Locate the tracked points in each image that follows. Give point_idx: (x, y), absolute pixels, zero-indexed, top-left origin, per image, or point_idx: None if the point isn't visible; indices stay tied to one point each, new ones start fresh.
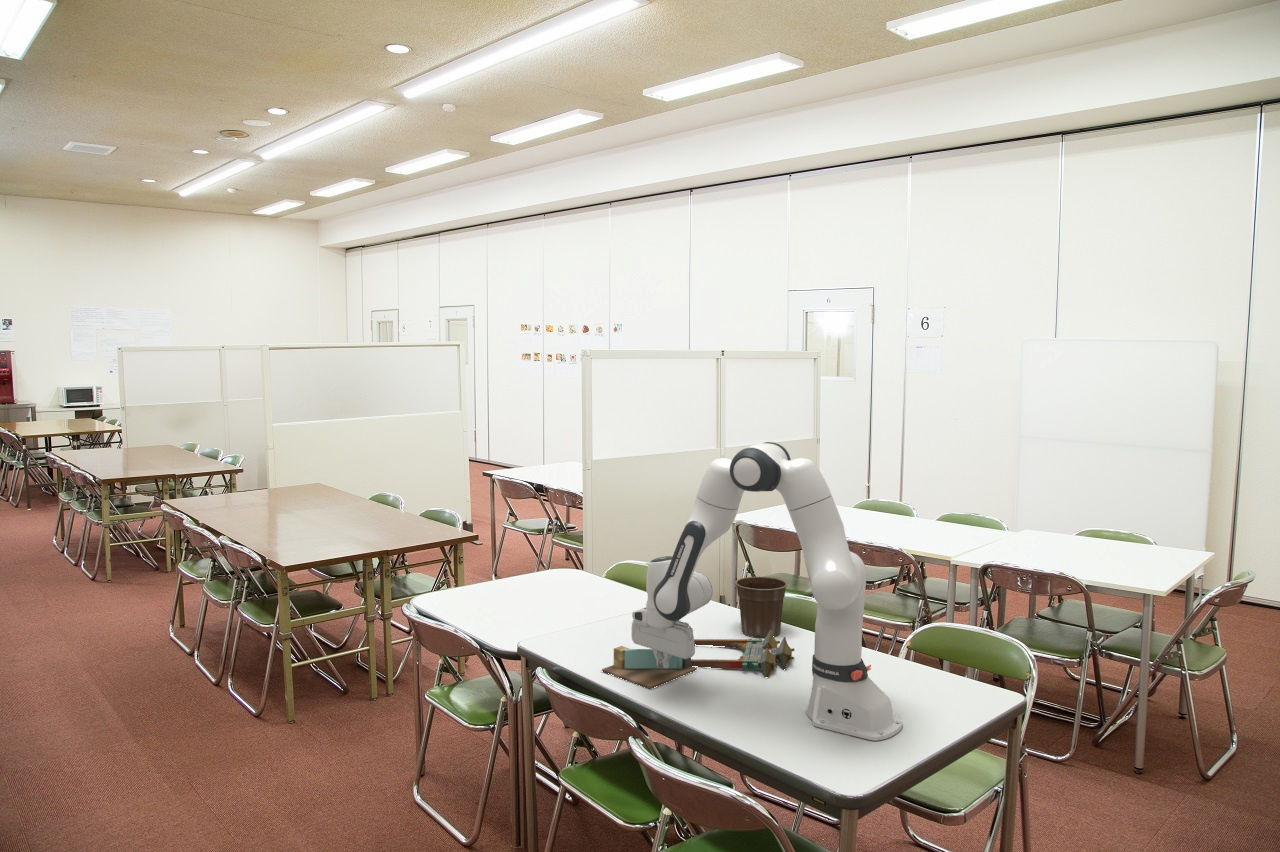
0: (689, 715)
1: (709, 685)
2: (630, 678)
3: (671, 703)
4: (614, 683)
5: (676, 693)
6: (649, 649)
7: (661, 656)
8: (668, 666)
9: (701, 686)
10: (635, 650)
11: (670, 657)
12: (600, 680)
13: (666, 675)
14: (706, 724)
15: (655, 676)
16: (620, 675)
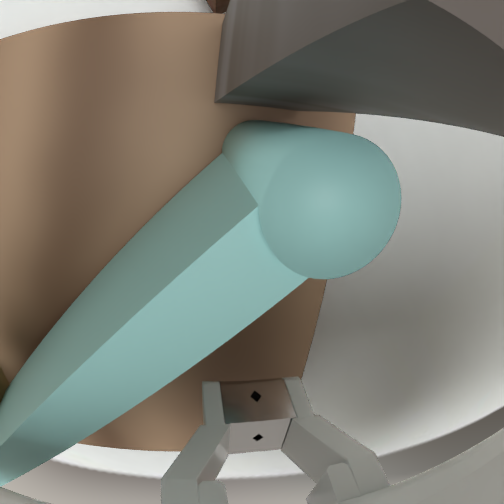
0: (450, 417)
1: (486, 223)
2: (141, 445)
3: (396, 426)
4: (121, 460)
5: (390, 384)
6: (25, 440)
7: (219, 444)
8: (299, 380)
9: (462, 260)
10: (13, 475)
11: (351, 446)
12: (70, 460)
13: (259, 328)
14: (481, 406)
15: (213, 379)
16: (84, 442)
